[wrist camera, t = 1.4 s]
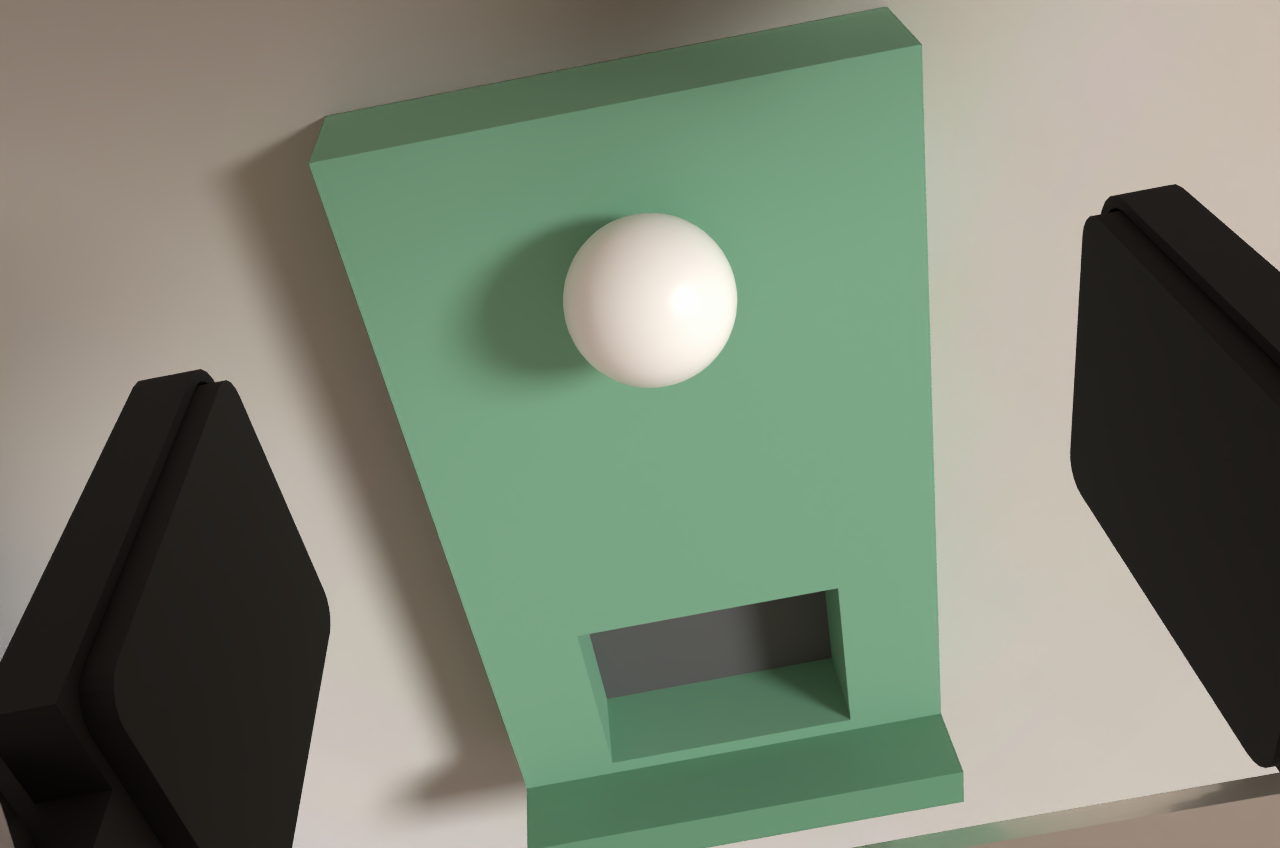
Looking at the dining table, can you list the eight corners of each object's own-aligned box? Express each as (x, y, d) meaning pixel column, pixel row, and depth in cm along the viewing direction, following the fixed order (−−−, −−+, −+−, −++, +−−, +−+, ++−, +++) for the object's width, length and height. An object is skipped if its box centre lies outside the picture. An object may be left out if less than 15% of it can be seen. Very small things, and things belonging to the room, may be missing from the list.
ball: (712, 169, 28) (739, 245, 24) (732, 316, 30) (759, 403, 27) (544, 202, 28) (548, 282, 25) (577, 345, 30) (586, 436, 27)
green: (887, 6, 29) (954, 79, 24) (916, 677, 43) (963, 801, 38) (325, 116, 29) (292, 207, 25) (535, 746, 43) (537, 878, 39)
